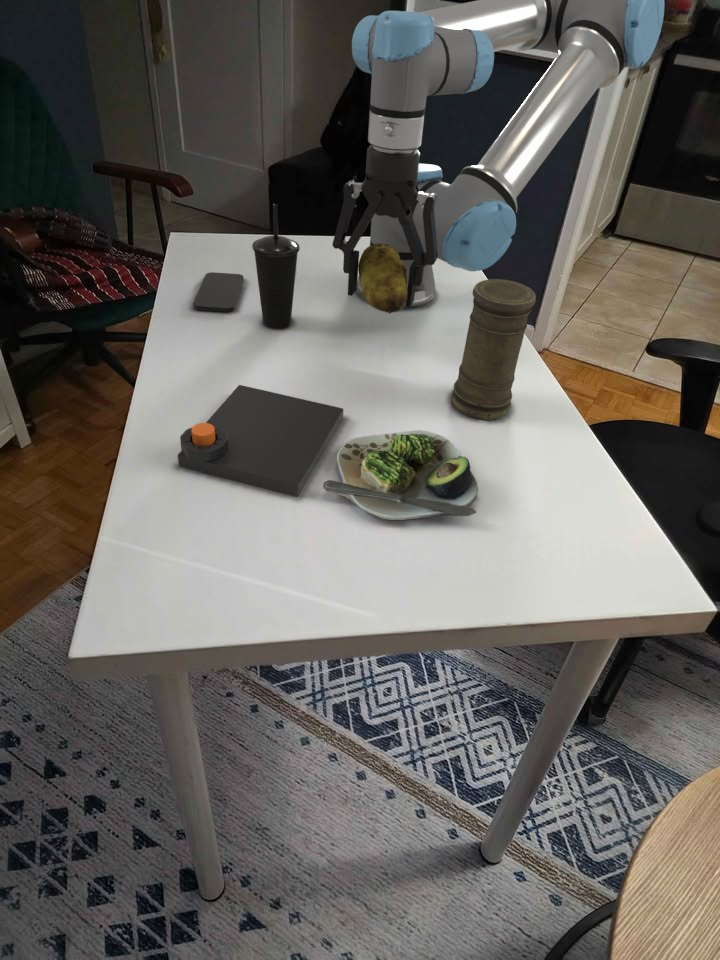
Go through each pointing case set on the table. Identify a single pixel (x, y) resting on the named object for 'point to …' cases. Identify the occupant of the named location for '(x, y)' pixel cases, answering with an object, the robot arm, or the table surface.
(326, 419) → the scale
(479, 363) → the container
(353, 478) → the salad plate
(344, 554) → the table surface
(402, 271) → the potato
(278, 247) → the drinking cup
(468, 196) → the robot arm
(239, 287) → the phone
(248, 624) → the table surface
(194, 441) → the button
